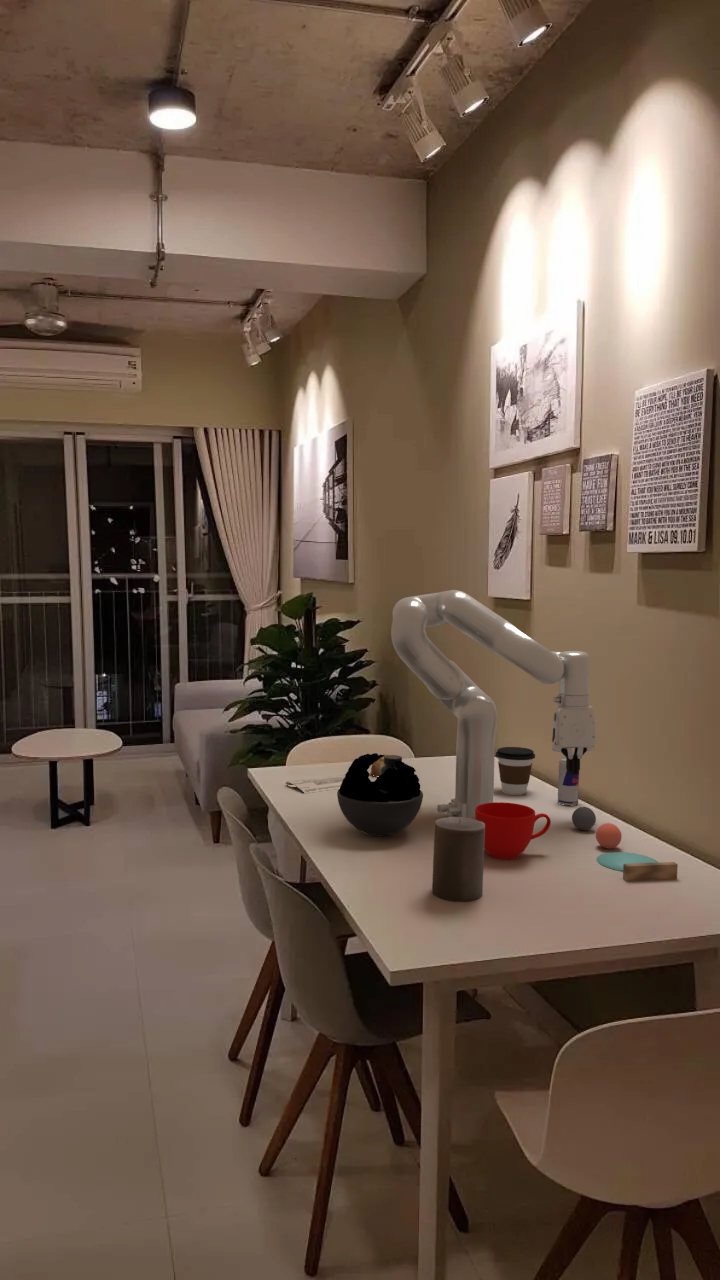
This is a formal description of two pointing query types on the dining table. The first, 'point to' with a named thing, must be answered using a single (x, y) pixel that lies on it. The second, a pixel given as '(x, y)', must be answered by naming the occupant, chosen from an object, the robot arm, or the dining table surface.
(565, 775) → the energy drink
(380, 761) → the bread roll
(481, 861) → the pillar candle
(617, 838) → the object ball
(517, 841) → the ceramic cup
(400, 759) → the supplement bottle
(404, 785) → the coal bowl
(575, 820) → the gray ball
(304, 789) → the newspaper
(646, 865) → the rail
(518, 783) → the coffee cup
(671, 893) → the dining table surface
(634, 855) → the disc
